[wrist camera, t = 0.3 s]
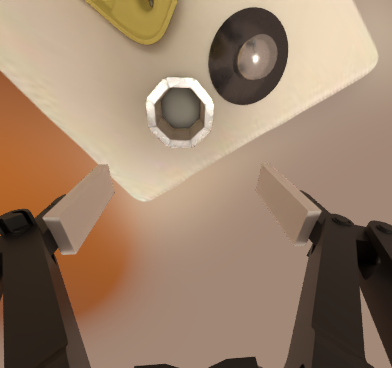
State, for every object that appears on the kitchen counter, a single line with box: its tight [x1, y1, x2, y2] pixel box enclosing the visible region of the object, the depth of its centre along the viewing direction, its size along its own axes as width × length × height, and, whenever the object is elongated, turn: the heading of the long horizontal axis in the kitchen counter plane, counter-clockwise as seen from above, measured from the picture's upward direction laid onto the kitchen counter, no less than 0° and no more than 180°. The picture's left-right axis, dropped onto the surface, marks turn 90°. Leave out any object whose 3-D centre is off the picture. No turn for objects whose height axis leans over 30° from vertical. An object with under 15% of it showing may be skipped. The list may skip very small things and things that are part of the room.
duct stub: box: [209, 7, 288, 105], centre depth 29 cm, size 14×14×6 cm
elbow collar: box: [146, 77, 214, 148], centre depth 31 cm, size 10×10×9 cm
